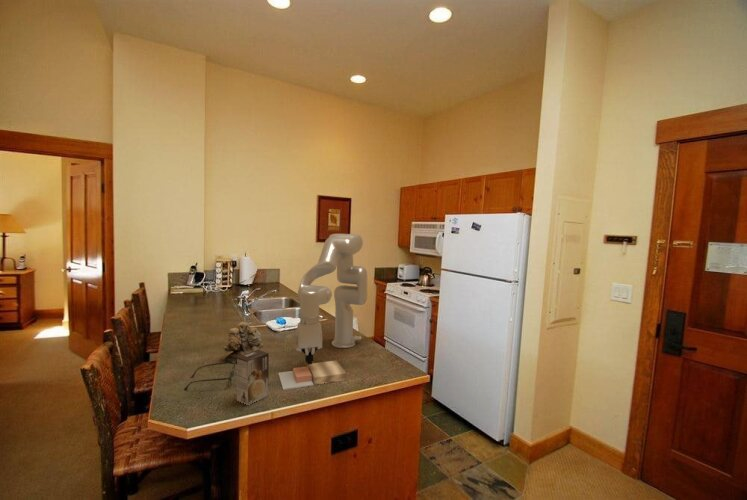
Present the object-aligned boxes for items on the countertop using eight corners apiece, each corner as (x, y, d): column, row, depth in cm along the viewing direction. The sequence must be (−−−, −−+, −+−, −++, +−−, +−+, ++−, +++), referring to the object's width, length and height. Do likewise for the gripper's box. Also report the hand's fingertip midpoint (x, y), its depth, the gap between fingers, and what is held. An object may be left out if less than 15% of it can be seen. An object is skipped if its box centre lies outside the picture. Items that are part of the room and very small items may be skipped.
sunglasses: (192, 375, 138) (192, 363, 138) (236, 371, 143) (236, 360, 143) (181, 394, 122) (181, 381, 122) (231, 389, 127) (231, 377, 127)
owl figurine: (226, 367, 147) (226, 328, 145) (219, 358, 156) (219, 322, 155) (267, 358, 158) (267, 322, 157) (258, 350, 167) (258, 316, 166)
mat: (305, 370, 146) (306, 369, 145) (313, 385, 132) (313, 384, 132) (278, 374, 141) (278, 372, 141) (283, 390, 127) (283, 388, 127)
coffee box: (257, 390, 126) (257, 349, 125) (269, 395, 123) (269, 352, 122) (235, 401, 118) (236, 356, 117) (247, 406, 115) (248, 360, 114)
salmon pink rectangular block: (307, 371, 143) (307, 366, 143) (311, 381, 134) (311, 375, 134) (292, 373, 140) (292, 368, 140) (296, 383, 132) (296, 377, 132)
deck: (336, 366, 150) (336, 360, 150) (345, 380, 137) (346, 373, 137) (307, 370, 145) (307, 364, 145) (314, 385, 132) (314, 377, 132)
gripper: (325, 315, 143) (324, 357, 145) (289, 318, 138) (289, 362, 139) (329, 320, 136) (329, 364, 138) (292, 324, 131) (292, 369, 132)
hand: (309, 363), depth 139 cm, fingers closed
